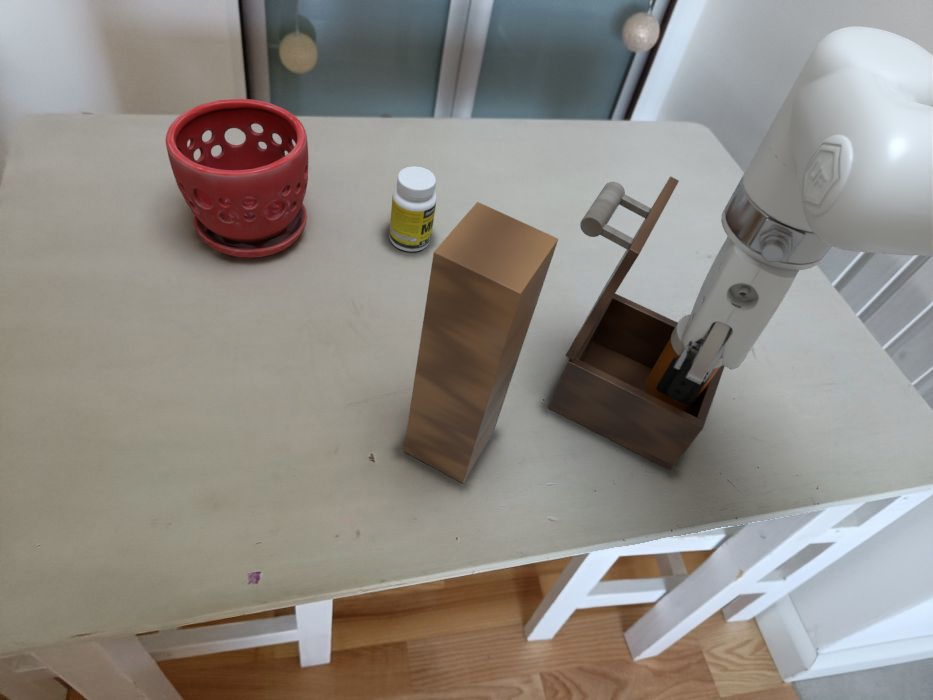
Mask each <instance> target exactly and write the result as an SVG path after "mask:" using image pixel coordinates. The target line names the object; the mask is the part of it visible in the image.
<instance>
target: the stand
mask: <svg viewBox="0 0 933 700" xmlns="http://www.w3.org/2000/svg"><path fill="white" fill-rule="evenodd" d="M558 242H559V238H557V237H556V236H553V235H551V234H549V233H547V232H544V231H542V230H540V229H538V228H536V227H534V226H532V225H530V224H527V223H525V222H523V221H521V220H519V219H516V218H514V217H512V216H510V215H508V214H506V213H504V212H502V211H499V210H496V209H494V208H493V207H490V206H488V205H486V204H483V203H482V202H480V201H476V203H475V204H474V205H473V206H472V207H471V208H470V209H469V210H468V212H467V213H466V214H465V215H464V217H462V219H461V220H460V221H459V222H458V223H457V225H456V226H455V227H454V228H453V229H452V230H451V231H450V233H449V234H448V235H447V236H446V237H445V238H444V239H443V241H442V242H441V243H440V244H439V245H438V246H437V247H436V249H435V250H434V251H433V254H432V259H431V260H432V261H431V266H430V267H431V268H430V275H429V280H428V287H427V293H426V294H427V295H426V302H425V308H424V314H423V320H422V327H421V334H420V340H419V348H418V354H417V360H416V366H415V372H414V379H413V386H412V391H411V398H410V399H411V400H410V404H409V405H410V406H409V413H408V417H407V418H408V419H407V426H406V432H405V438H404V439H405V440H404V445H403V452H405V453H406V454H409V455H410V456H412V457H414V458H416V459H417V460H419V461H421V462H423V463H425V464H426V465H428V466H430V467H432V468H433V469H436V470H437V471H438V472H441V473H443V474H444V475H446V476H448V477H450V478H452V479H453V480H456V481H457V482H459V483H461V484H464V482H465V481H466V480H467V478H468V476H469V475H470V473H471V471H472V469H473V468H474V466H475V465H476V463H477V461H478V459H479V458H480V456H481V455H482V453H483V451H484V450H485V448H486V446H487V445H488V443H489V441H490V440H491V438H492V436H493V435H494V432H495V429H496V426H497V424H498V421H499V417H500V414H501V412H502V409H503V405H504V402H505V399H506V397H507V393H508V390H509V387H510V384H511V382H512V379H513V375H514V372H515V369H516V366H517V364H518V361H519V358H520V354H521V352H522V349H523V346H524V343H525V340H526V338H527V334H528V332H529V329H530V326H531V323H532V319H533V316H534V314H535V310H536V307H537V304H538V302H539V298H540V297H541V293H542V290H543V286H544V283H545V281H546V278H547V275H548V271H549V269H550V265H551V262H552V260H553V257H554V254H555V251H556V247H557V245H558Z"/></svg>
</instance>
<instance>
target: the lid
mask: <svg viewBox="0 0 933 700" xmlns="http://www.w3.org/2000/svg"><path fill="white" fill-rule="evenodd" d="M679 182H680V180H679V179H677V178H675V177H673V176H669V178H668V180H667V181H666V183H665V184H664V186H663V187H662V190H661V191H660V193H659V194H658V196H657V198H656V200H655V201H654V203H653V204H652V206H651V207H650V206H648V205H646V204H644V203H642V202H640V201H638V200H636V199H634V198H633V197H631V196H628V195H627V194H626V191H625V190H626V189H625V188H624V186H623V185H622V184H621V183H619V182H617V181H609V182H607V183H606V184H605V185H604V186H603V188H602V189H601V191H600V192H599V194H598V195H597V196H596V197H595V199H594V201H593V202H592V204H591V205H590V207H589V209H588V210H587V211H586V213H585V215H584V216H583V218H582V219H581V221H580V225H579V226H580V230H581V232H582V233H583V234H584V235H586V236H587V237H589V238H597V237H599V236H601V237H603V238H605V239H607V240H609V241H611V242H612V243H614V244H616V245H618V246H619V247H621V248H623V249H625V251H624V253H623V255H622V256H621V258H620V260H619V261H618V263H617V265H616V266H615V268H614V270H613V271H612V273H611V274H610V276H609V278H608V279H607V281H606V283H605V285H604V287H602V290H601V292H600V293H599V295H598V297H597V299H596V301H595V303H594V304H593V306H592V308H591V309H590V311H589V313H588V314H587V316H586V318H585V320H584V322H583V324H582V325H581V327H580V329H579V331H578V332H577V334H576V336H575V338H574V339H573V341H572V343H571V345H570V346H569V348H568V350H567V351H566V354H565V357H566V358H568V359H569V358H570V359H572V360H574V358H575V357H576V355H577V353H578V352H579V350H580V349H581V347H582V345H583V344H584V342H585V341H586V339H587V337H588V336H589V334H590V333H591V331H592V329H593V328H594V326H595V325H596V323H597V321H598V320H599V318H600V317H601V315H602V313H603V312H604V310H605V309H606V307H607V305H608V304H609V302H610V300H611V299H612V297H613V296H614V294H615V293H617V292H618V289H619V287H620V286H621V285H622V283H623V281H624V280H625V279H626V276H627V275H628V273H629V272H630V270H631V268H632V267H633V265H635V262H636V260H637V259H638V257H639V256H640V254H641V252H642V250H643V248H644V247H645V245H646V243H647V241H648V239H649V238H650V236H651V234H652V232H653V230H654V228H655V226H656V225H657V223H658V221H659V219H660V217H661V215H662V214H663V212H664V210H665V208H666V206H667V205H668V202H669V200H670V199H671V197H672V196H673V193H674V191H675V190H676V187H677V186H678V184H679ZM619 206H621V207H623V208H625V209H627V210H628V211H630V212H632V213H633V214H636V215H638V216H640V217H642V218H643V221H642V223H641V224H640V226H639V228H638V230H637V231H636V232H635V235H634V236H633V237H631V236H629V235H628V234H626V233H624V232H623V231H620V230H618V229H616V228H615V227H613V226H611V225H610V224H609V222H610V220H611V219H612V217H613V215H614V213H615V212H616V211H617V209H618V208H619Z"/></svg>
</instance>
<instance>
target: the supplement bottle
mask: <svg viewBox="0 0 933 700" xmlns="http://www.w3.org/2000/svg"><path fill="white" fill-rule="evenodd" d="M436 184H437V179H436V175H435V174H434V173H433V172H432V171H431V170H430V169H427V168H425V167H422V166H407V167H404V168H403V169H401V170H400V171H399V172H398V174H397V182H396V185H395V187H394V189H393V191H392V196H391V197H392V199H391V209H390V210H391V211H390V219H389V229H388V230H389V231H388V236H389V241H390V242H391V244H392V245H393V246H394V247H396V249H399V250H402V251H403V252H404V251H405V252H419V251H422V250H424V249H426V248H427V247H428V246H429V245H430V242H431V239H432V232H433V226H434V222H435V221H434V220H435V215H436V214H435V213H436V207H437V200H438V198H437V193H436Z"/></svg>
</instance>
